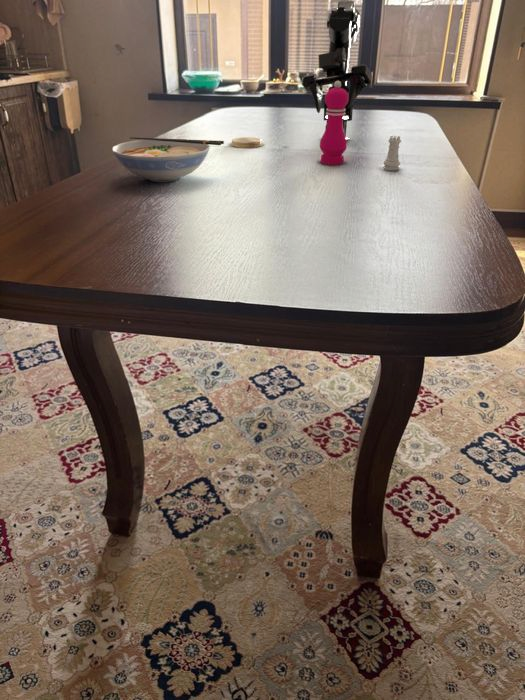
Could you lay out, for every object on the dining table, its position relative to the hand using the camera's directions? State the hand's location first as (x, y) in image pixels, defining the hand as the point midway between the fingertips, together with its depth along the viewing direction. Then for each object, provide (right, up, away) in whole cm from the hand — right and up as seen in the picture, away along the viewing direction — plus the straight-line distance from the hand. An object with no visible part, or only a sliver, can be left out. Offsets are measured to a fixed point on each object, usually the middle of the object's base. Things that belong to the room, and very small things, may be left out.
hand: (333, 109), depth 145 cm
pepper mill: (-1, -16, -2) cm, 16 cm away
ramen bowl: (-44, -26, -19) cm, 54 cm away
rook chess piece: (+14, -20, -9) cm, 26 cm away
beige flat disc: (-25, -2, +20) cm, 32 cm away
